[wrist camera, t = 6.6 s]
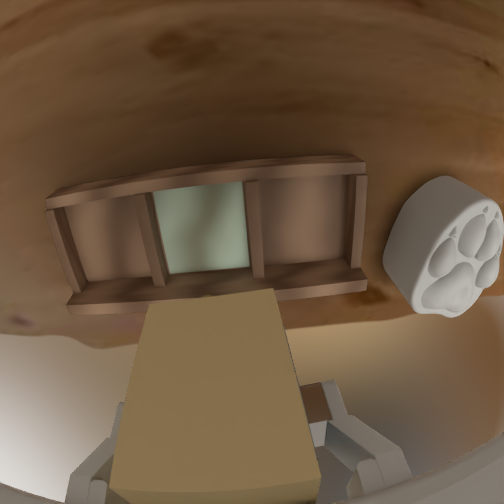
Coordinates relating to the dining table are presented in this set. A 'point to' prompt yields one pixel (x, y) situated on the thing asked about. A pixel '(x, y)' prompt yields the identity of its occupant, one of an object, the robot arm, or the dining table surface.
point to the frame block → (215, 408)
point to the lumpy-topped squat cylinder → (444, 247)
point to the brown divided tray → (212, 232)
